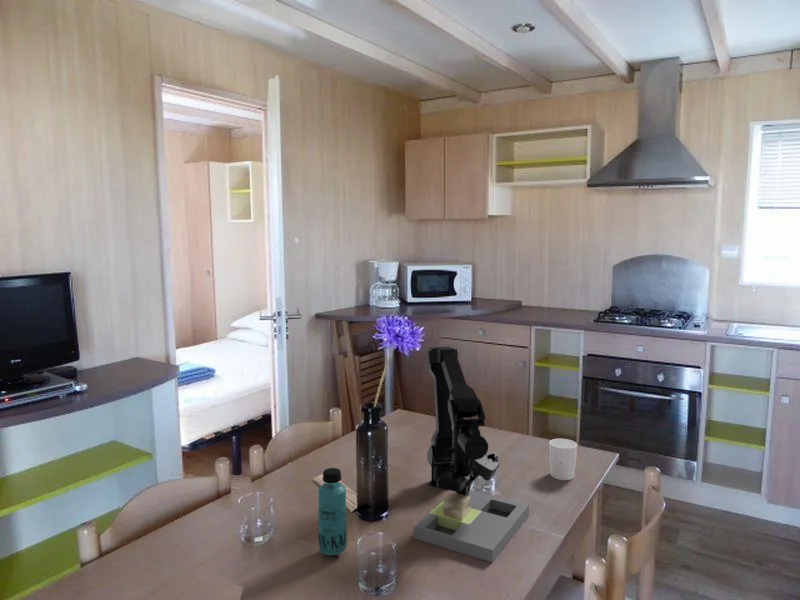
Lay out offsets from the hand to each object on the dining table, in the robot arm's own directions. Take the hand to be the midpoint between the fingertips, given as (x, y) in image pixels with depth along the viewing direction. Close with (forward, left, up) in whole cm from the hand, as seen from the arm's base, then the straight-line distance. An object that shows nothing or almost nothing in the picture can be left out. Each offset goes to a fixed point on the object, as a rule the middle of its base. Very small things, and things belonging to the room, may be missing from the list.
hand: (463, 502), depth 149 cm
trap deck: (+4, -3, -4) cm, 6 cm away
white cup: (+14, +37, -4) cm, 40 cm away
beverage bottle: (-19, -30, -4) cm, 35 cm away
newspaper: (-35, -4, -5) cm, 36 cm away
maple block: (0, -4, -1) cm, 4 cm away
